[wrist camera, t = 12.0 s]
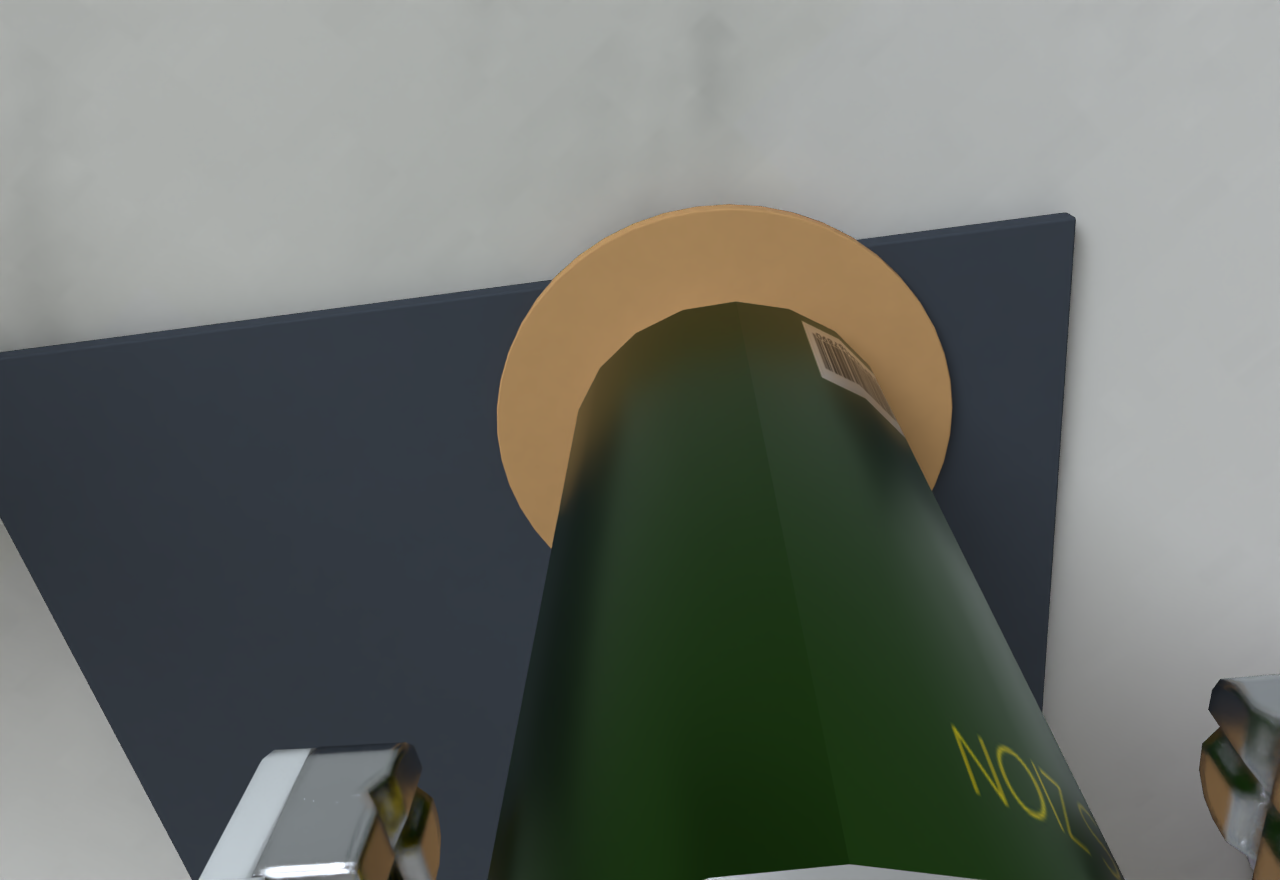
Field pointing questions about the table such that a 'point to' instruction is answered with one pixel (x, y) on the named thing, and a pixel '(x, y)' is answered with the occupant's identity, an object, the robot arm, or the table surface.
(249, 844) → the robot arm
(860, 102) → the table surface
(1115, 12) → the table surface
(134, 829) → the table surface
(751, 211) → the placemat
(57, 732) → the table surface
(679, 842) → the beer can
